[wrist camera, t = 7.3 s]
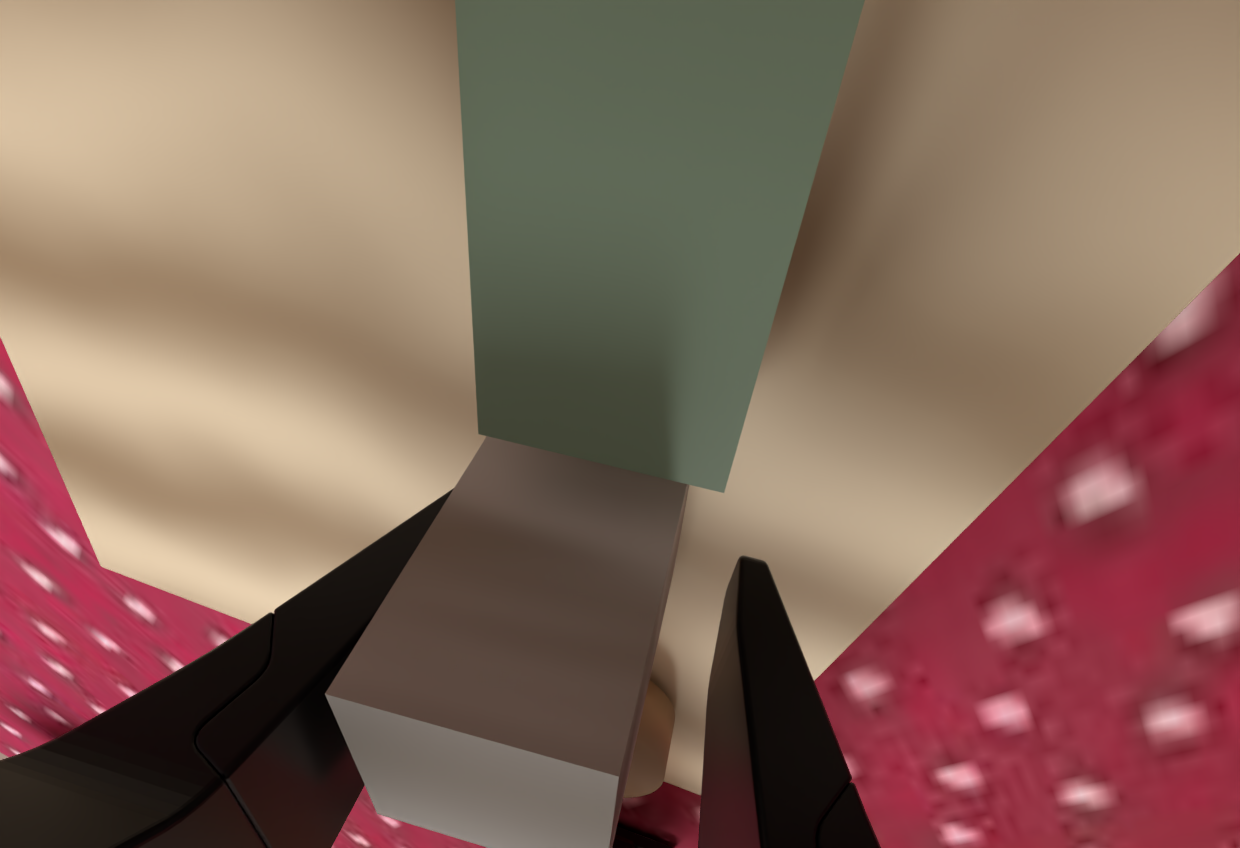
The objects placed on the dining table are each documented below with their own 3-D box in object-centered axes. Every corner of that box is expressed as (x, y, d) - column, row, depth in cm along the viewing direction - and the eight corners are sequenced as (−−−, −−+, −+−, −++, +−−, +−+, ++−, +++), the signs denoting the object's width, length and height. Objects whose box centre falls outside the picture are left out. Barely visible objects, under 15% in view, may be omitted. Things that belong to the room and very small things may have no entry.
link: (666, 756, 20) (612, 1049, 15) (526, 718, 20) (429, 986, 15) (811, 137, 8) (794, 481, 3) (489, 94, 9) (78, 335, 4)
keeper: (758, 289, 11) (724, 492, 8) (593, 256, 12) (478, 433, 8) (906, -283, 7) (1011, -515, 3) (636, -307, 7) (424, -543, 3)
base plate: (705, 758, 22) (700, 795, 21) (130, 539, 22) (101, 566, 22) (1525, -140, 7) (1636, -146, 6) (-380, -839, 7) (-562, -950, 6)
